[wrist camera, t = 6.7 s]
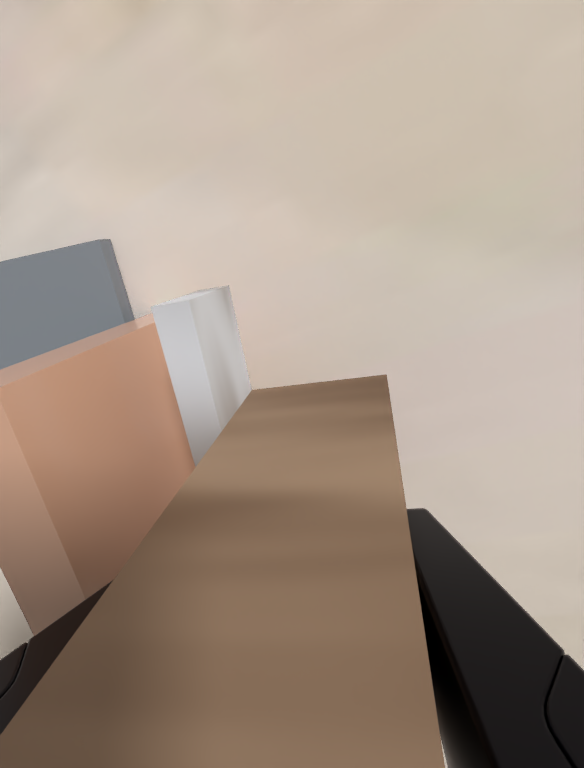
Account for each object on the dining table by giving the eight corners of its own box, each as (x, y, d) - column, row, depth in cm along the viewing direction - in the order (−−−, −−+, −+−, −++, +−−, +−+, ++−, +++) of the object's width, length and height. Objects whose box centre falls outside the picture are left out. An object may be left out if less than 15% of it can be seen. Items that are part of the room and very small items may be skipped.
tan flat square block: (248, 510, 16) (148, 746, 9) (207, 512, 17) (78, 741, 9) (195, 305, 14) (-5, 388, 6) (149, 313, 14) (-92, 401, 7)
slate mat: (203, 545, 17) (197, 556, 16) (19, 553, 19) (9, 563, 18) (109, 239, 13) (99, 239, 13) (-106, 287, 15) (-124, 289, 15)
